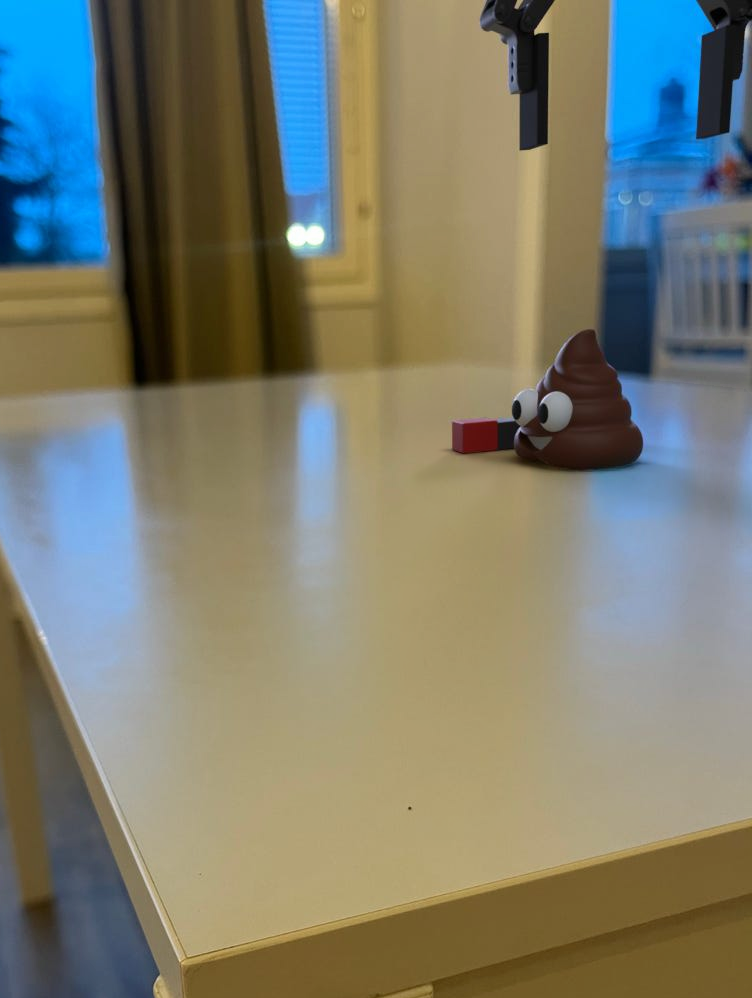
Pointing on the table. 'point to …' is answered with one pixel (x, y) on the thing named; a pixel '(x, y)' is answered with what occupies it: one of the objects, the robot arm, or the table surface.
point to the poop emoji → (577, 412)
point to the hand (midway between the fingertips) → (624, 142)
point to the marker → (483, 434)
